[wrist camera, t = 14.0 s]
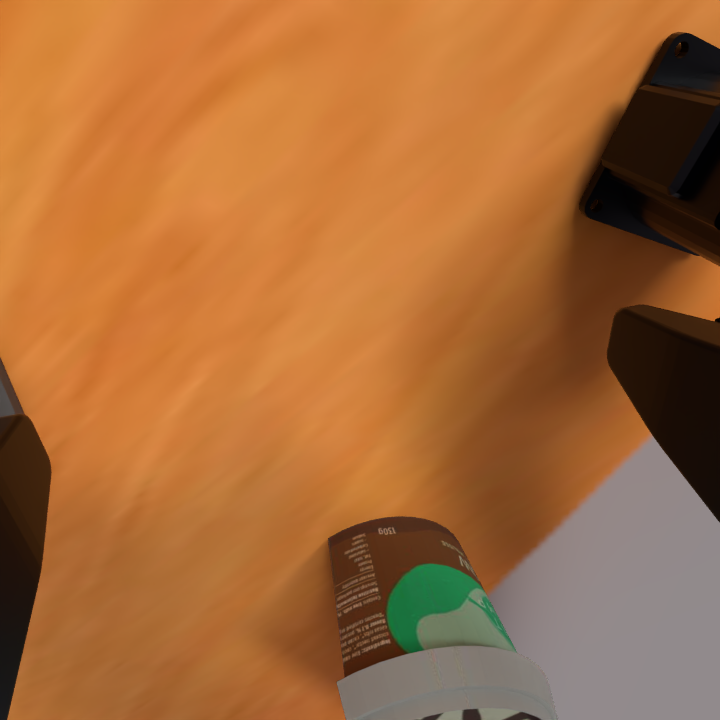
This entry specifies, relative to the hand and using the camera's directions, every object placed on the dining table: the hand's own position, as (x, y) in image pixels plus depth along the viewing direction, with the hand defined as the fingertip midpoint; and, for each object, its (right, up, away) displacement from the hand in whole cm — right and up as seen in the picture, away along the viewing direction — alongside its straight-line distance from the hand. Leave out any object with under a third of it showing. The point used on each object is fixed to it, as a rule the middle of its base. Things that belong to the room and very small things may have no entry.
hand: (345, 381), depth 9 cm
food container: (+4, -10, +23) cm, 25 cm away
